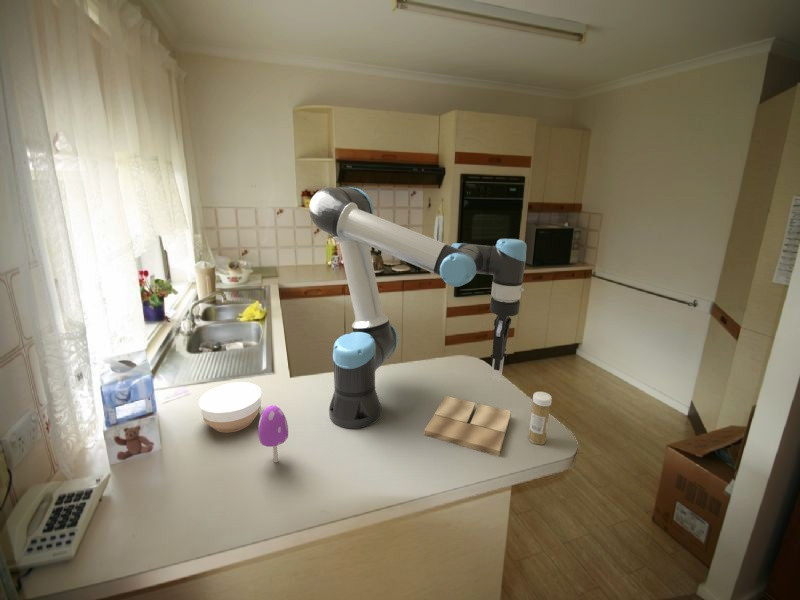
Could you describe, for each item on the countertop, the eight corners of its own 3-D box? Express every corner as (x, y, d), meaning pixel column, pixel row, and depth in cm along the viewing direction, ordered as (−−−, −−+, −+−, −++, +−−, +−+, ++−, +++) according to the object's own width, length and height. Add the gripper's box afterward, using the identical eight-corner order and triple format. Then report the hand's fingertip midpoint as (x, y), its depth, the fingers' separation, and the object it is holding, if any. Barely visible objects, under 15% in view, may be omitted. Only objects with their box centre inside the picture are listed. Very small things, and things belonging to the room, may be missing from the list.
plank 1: (434, 417, 112) (434, 414, 112) (444, 398, 121) (445, 395, 121) (466, 425, 109) (466, 422, 108) (475, 406, 117) (475, 402, 117)
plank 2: (470, 426, 108) (470, 423, 108) (478, 406, 117) (478, 403, 116) (504, 435, 105) (505, 432, 104) (510, 414, 113) (511, 411, 113)
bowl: (238, 400, 120) (236, 377, 118) (275, 415, 113) (273, 391, 110) (189, 426, 107) (185, 401, 105) (227, 446, 99) (224, 419, 97)
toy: (274, 474, 90) (269, 418, 86) (255, 463, 93) (249, 408, 89) (296, 458, 95) (292, 404, 91) (277, 448, 99) (273, 396, 94)
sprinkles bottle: (549, 441, 103) (555, 396, 100) (538, 447, 101) (544, 401, 97) (534, 432, 107) (540, 389, 103) (523, 438, 105) (529, 393, 101)
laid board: (424, 435, 105) (424, 429, 105) (435, 416, 113) (435, 412, 113) (498, 456, 97) (499, 450, 97) (505, 435, 106) (505, 430, 105)
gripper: (516, 307, 96) (505, 392, 102) (523, 294, 107) (513, 371, 114) (486, 302, 98) (477, 385, 105) (495, 290, 110) (487, 366, 117)
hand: (496, 378), depth 110 cm, fingers closed
